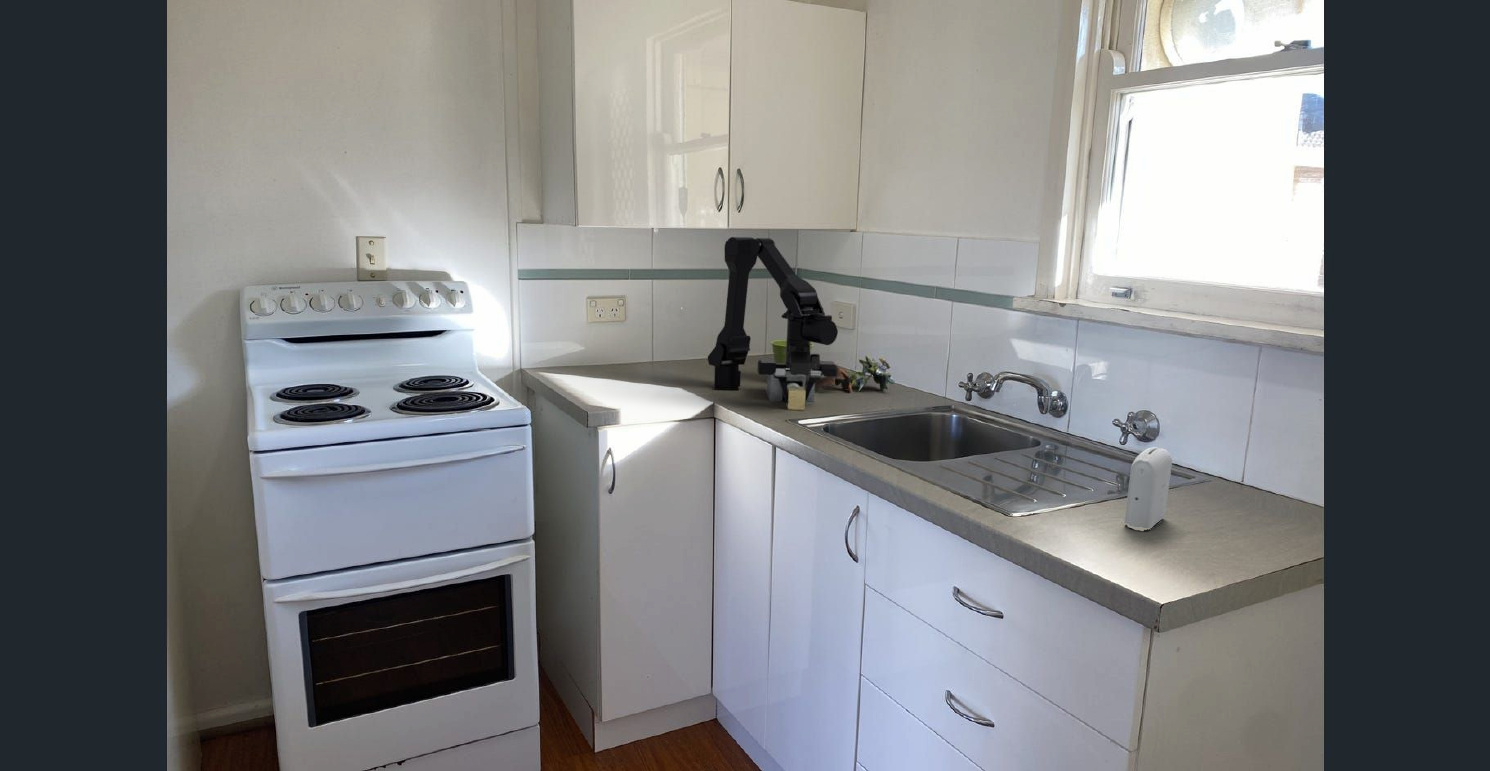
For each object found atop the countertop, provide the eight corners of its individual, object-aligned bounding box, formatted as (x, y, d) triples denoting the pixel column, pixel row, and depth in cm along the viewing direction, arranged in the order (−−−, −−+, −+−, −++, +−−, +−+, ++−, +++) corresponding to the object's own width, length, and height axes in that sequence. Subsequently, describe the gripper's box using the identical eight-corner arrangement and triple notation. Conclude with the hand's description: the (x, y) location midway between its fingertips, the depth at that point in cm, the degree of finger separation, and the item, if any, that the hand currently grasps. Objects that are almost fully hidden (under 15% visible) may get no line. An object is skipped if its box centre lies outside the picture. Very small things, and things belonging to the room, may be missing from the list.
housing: (766, 391, 239) (767, 367, 238) (808, 392, 240) (809, 368, 239) (770, 400, 229) (771, 375, 227) (813, 401, 229) (815, 376, 228)
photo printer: (1148, 534, 142) (1158, 457, 140) (1120, 527, 145) (1129, 452, 143) (1168, 518, 150) (1177, 445, 148) (1141, 512, 153) (1150, 440, 150)
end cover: (780, 394, 236) (781, 376, 235) (797, 394, 236) (798, 376, 235) (787, 409, 219) (788, 390, 218) (805, 409, 219) (806, 390, 218)
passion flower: (880, 410, 247) (905, 379, 241) (850, 406, 241) (876, 374, 235) (862, 380, 254) (886, 349, 248) (833, 376, 248) (857, 344, 241)
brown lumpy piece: (855, 397, 239) (843, 371, 236) (822, 410, 241) (809, 385, 238) (853, 377, 249) (841, 352, 246) (822, 390, 252) (809, 365, 249)
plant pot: (805, 389, 244) (807, 347, 242) (763, 385, 248) (764, 344, 246) (816, 381, 255) (818, 341, 253) (775, 378, 259) (777, 338, 257)
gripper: (762, 343, 210) (759, 409, 213) (842, 345, 211) (839, 411, 214) (758, 336, 221) (756, 399, 224) (835, 338, 222) (831, 401, 225)
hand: (795, 403), depth 221 cm, fingers closed on end cover, 4 cm apart
